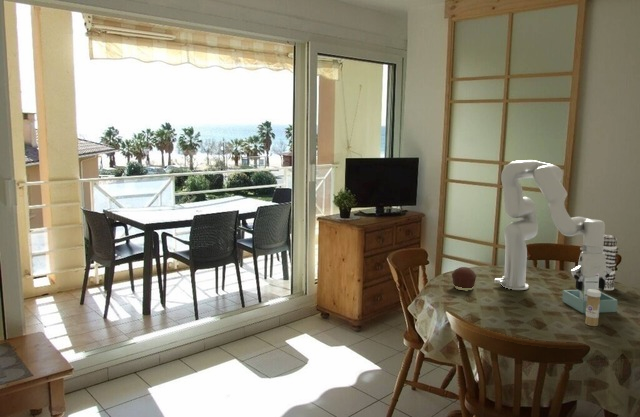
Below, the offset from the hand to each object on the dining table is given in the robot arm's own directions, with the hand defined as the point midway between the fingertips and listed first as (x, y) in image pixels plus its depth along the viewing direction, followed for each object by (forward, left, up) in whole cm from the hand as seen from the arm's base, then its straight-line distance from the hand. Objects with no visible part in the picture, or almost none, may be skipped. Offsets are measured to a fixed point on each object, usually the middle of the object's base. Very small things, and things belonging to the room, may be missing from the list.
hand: (589, 289), depth 210 cm
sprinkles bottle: (-11, -19, -8) cm, 23 cm away
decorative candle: (+23, +24, -8) cm, 34 cm away
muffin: (-43, +30, -8) cm, 53 cm away
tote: (0, 0, -7) cm, 7 cm away
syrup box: (0, 0, -7) cm, 7 cm away
